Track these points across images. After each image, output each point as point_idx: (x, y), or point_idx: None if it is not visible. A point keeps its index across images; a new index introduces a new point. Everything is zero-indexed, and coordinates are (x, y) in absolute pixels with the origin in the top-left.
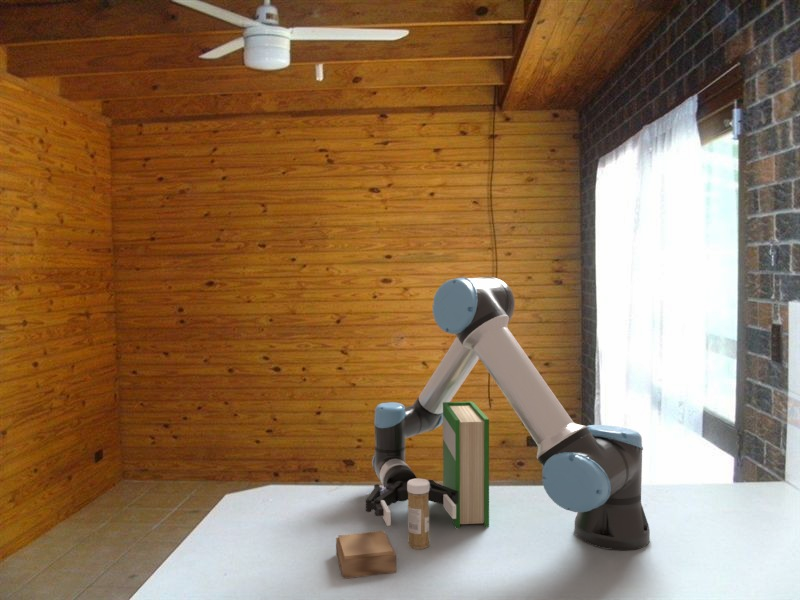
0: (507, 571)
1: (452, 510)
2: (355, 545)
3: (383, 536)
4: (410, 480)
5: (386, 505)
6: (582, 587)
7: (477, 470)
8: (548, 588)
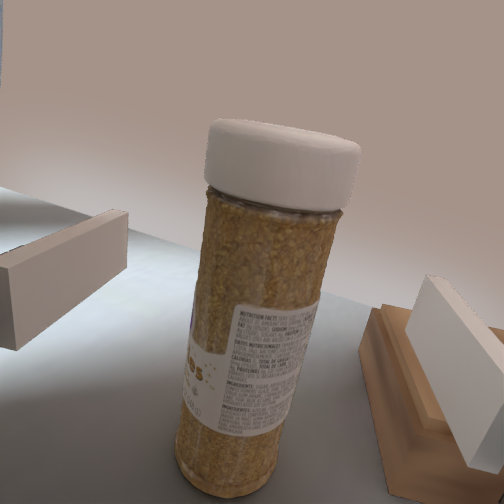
0: None
1: (126, 234)
2: None
3: (422, 375)
4: (336, 138)
5: (463, 318)
6: (65, 215)
7: None
8: None
